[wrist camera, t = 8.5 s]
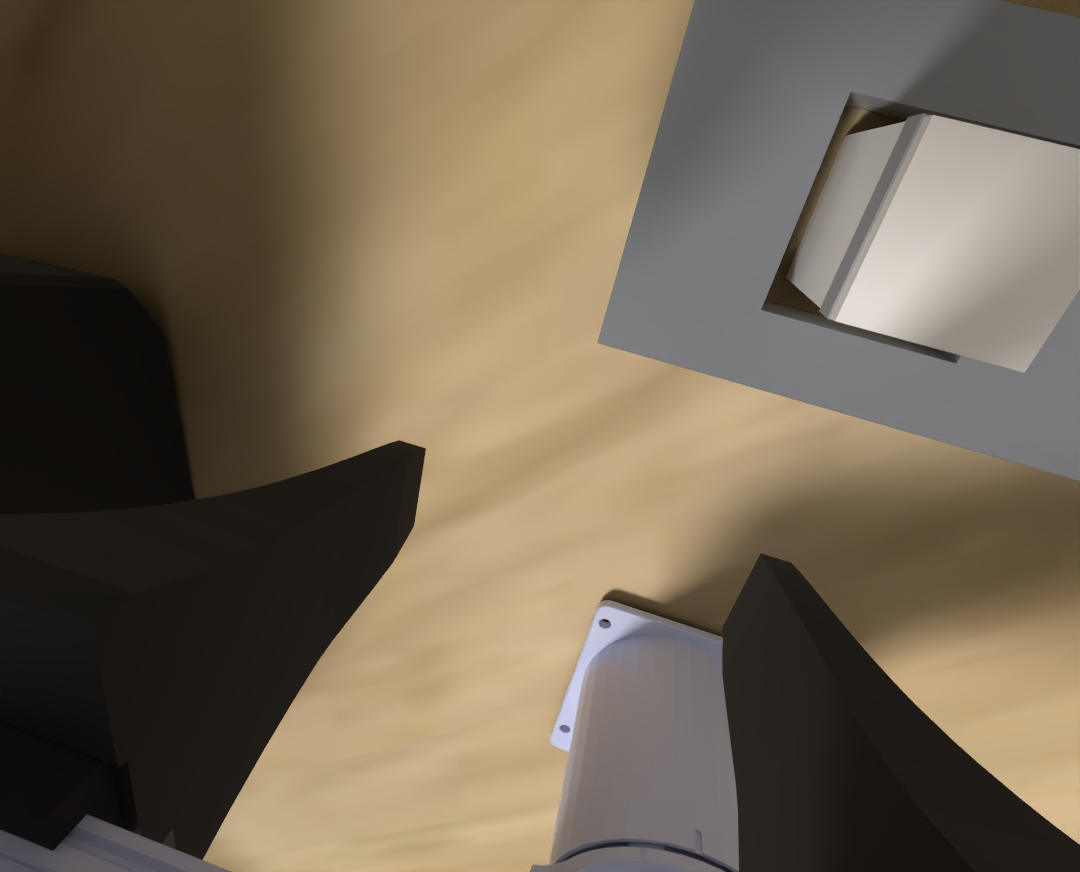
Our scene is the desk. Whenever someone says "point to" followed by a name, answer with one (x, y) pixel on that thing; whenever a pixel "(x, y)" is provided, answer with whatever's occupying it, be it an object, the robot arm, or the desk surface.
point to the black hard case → (83, 396)
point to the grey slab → (784, 184)
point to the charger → (947, 238)
